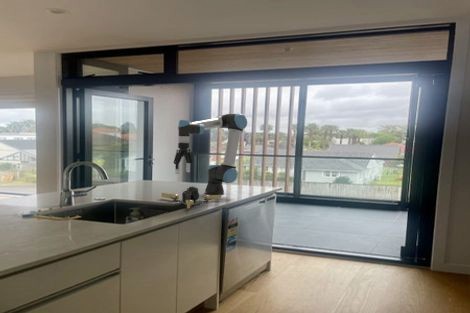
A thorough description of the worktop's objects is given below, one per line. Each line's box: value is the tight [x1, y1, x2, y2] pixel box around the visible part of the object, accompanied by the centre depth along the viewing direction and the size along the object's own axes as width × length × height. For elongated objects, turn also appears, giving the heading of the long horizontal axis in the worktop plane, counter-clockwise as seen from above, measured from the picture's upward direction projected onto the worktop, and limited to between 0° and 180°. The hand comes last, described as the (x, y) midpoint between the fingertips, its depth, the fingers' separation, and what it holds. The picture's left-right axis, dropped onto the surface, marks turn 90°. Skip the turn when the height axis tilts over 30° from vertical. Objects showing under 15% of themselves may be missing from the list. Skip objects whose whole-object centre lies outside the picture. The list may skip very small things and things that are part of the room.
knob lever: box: [161, 192, 180, 200], centre depth 252 cm, size 14×5×4 cm, turn 64°
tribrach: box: [174, 194, 223, 209], centre depth 244 cm, size 42×27×4 cm, turn 154°
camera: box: [181, 185, 200, 203], centre depth 244 cm, size 13×10×10 cm
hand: (182, 173), depth 249 cm, fingers open, 13 cm apart
